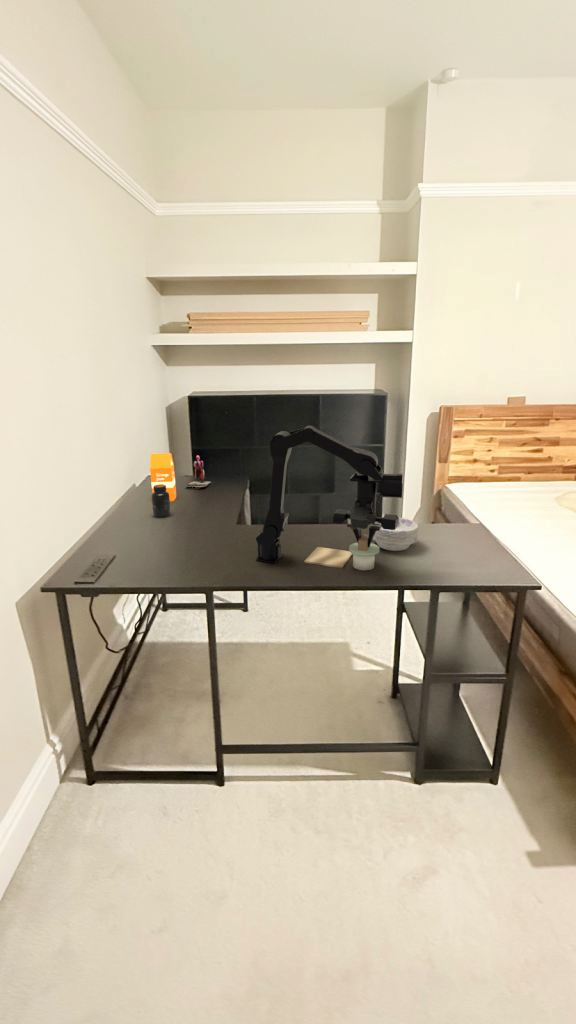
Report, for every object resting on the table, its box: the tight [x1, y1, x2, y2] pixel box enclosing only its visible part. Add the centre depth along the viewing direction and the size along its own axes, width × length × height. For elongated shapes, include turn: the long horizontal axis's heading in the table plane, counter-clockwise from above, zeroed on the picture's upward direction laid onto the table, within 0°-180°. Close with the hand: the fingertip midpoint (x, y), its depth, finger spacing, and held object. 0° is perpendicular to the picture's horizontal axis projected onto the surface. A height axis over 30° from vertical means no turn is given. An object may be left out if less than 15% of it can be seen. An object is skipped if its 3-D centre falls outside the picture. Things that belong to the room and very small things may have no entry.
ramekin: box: [352, 554, 376, 571], centre depth 158 cm, size 6×6×5 cm
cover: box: [348, 534, 381, 556], centre depth 156 cm, size 9×9×4 cm
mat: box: [304, 546, 353, 569], centre depth 164 cm, size 12×12×1 cm
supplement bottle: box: [151, 484, 172, 519], centre depth 205 cm, size 7×7×12 cm
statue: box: [185, 455, 211, 490], centre depth 244 cm, size 11×9×15 cm
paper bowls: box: [370, 517, 419, 552], centre depth 172 cm, size 15×15×8 cm
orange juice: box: [149, 452, 177, 502], centre depth 224 cm, size 8×9×20 cm
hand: (364, 546), depth 156 cm, fingers closed on cover, 2 cm apart
